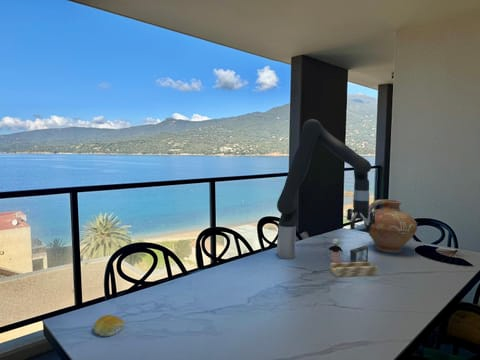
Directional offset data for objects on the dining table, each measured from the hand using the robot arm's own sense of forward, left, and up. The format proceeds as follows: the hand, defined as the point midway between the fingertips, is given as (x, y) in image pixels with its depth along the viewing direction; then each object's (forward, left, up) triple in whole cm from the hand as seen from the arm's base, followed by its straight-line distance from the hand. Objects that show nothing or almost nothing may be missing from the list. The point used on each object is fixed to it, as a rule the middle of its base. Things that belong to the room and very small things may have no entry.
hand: (360, 230), depth 163 cm
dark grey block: (0, 0, -17) cm, 17 cm away
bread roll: (-110, -49, -18) cm, 122 cm away
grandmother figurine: (-12, +2, -17) cm, 21 cm away
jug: (+29, +20, -18) cm, 39 cm away
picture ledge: (-9, -12, -17) cm, 23 cm away
